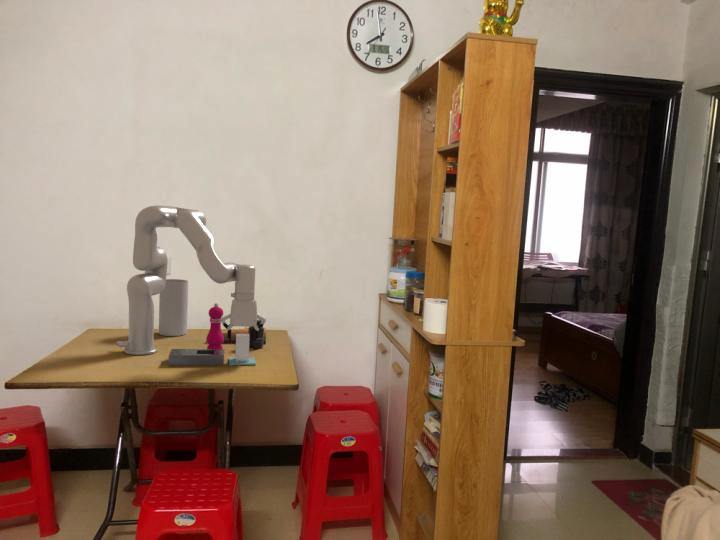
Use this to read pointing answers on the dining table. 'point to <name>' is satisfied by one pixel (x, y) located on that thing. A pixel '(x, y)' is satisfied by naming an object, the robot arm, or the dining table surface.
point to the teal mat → (232, 362)
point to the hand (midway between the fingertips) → (242, 340)
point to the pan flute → (240, 331)
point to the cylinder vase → (173, 308)
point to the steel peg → (242, 348)
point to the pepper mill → (215, 328)
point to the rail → (196, 357)
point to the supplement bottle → (259, 341)
